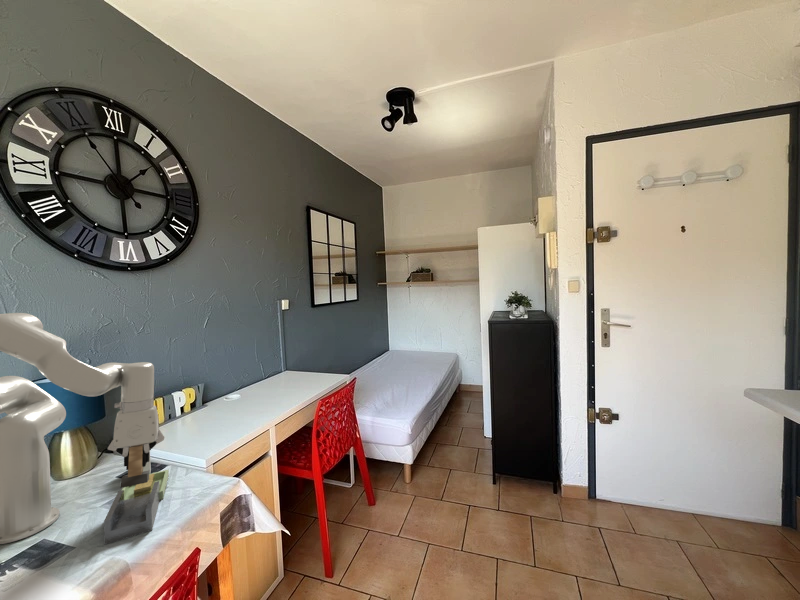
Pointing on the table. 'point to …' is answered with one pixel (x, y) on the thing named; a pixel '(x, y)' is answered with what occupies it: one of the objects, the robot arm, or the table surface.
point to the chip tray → (159, 476)
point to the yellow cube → (152, 477)
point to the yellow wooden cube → (143, 488)
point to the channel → (131, 515)
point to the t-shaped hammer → (135, 468)
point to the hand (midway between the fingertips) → (136, 465)
